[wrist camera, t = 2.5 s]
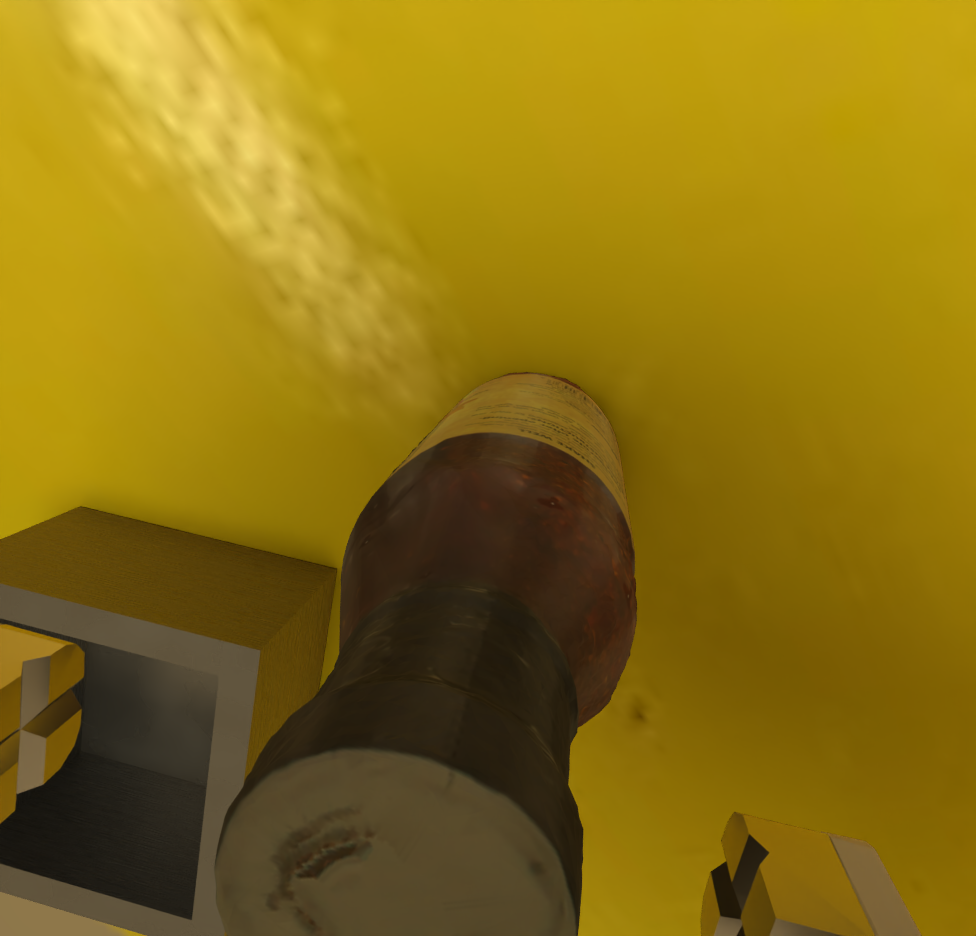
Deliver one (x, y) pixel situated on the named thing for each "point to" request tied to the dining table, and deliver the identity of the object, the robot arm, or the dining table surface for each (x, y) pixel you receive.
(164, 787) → the condiment sleeve
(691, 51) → the dining table surface
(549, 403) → the sauce bottle
